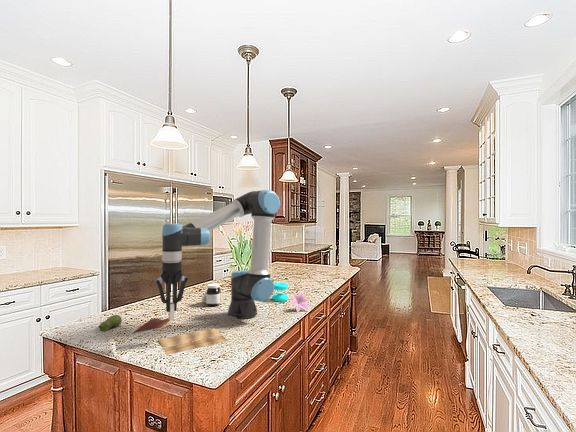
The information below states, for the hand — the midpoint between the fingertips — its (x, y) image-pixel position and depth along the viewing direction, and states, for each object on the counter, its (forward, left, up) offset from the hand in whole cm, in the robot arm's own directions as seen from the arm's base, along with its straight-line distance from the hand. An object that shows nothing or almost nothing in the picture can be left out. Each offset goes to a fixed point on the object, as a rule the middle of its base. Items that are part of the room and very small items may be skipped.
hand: (171, 319), depth 132 cm
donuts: (-73, -33, -10) cm, 80 cm away
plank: (-8, +1, -10) cm, 12 cm away
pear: (+19, -34, -10) cm, 40 cm away
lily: (-70, -9, -10) cm, 72 cm away
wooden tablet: (+5, -23, -11) cm, 26 cm away
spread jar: (-34, -47, -10) cm, 58 cm away
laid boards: (-8, +9, -10) cm, 15 cm away
